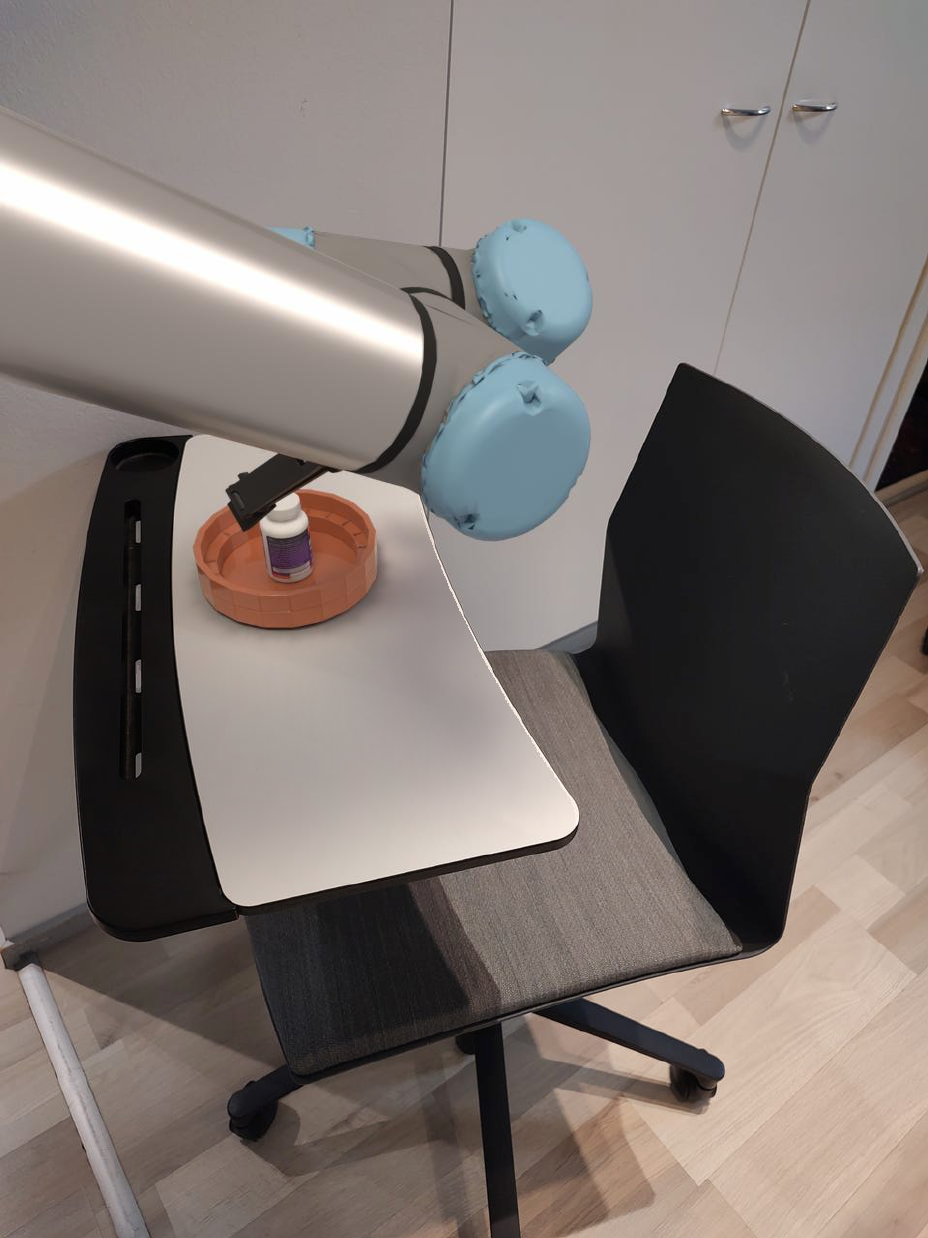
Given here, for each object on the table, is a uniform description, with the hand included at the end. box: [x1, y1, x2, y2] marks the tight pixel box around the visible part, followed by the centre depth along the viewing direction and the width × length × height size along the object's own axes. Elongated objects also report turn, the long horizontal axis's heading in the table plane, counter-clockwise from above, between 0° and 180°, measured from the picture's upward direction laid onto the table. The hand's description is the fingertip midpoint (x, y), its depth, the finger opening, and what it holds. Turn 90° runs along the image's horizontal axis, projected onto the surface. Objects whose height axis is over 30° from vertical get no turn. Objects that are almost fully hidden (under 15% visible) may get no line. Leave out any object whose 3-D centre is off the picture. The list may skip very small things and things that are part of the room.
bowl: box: [192, 488, 378, 628], centre depth 88 cm, size 17×17×4 cm
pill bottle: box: [260, 493, 313, 583], centre depth 86 cm, size 5×5×8 cm
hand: (303, 486), depth 78 cm, fingers open, 13 cm apart
